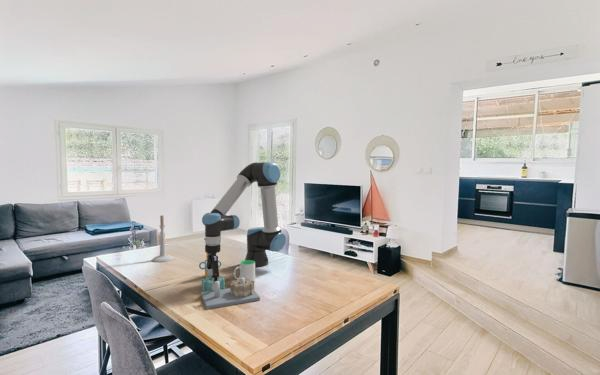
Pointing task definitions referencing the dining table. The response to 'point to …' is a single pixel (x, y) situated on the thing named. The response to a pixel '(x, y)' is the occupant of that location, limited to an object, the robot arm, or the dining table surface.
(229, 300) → the gear board
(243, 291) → the gear
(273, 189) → the robot arm
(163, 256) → the candlestick
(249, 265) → the mug
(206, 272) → the orange post with rings
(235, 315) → the dining table surface
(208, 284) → the gear
